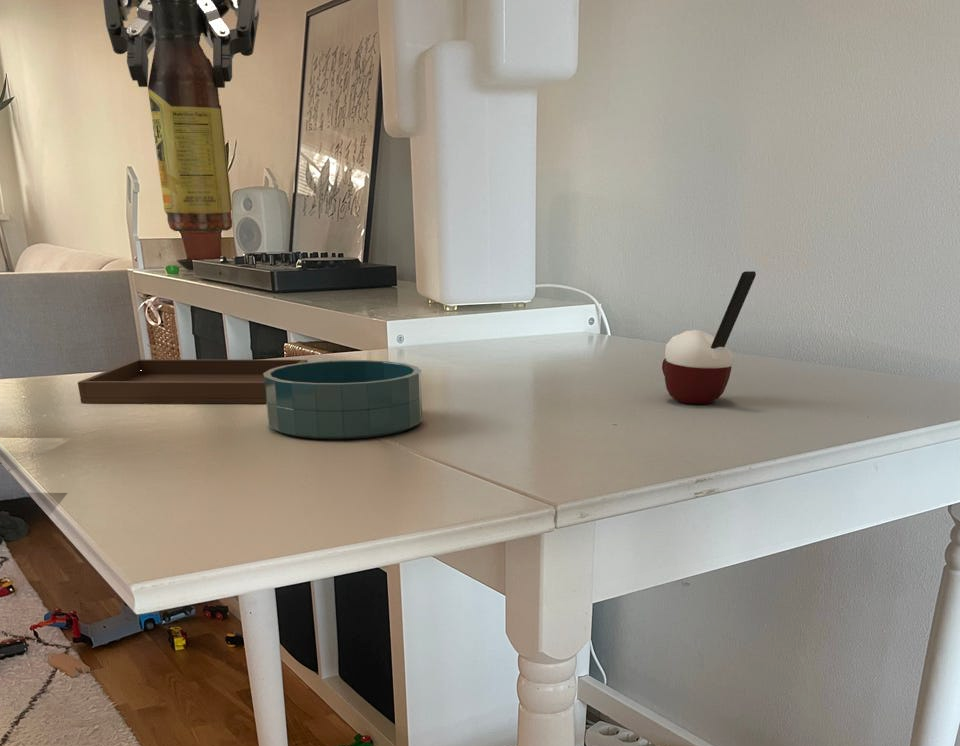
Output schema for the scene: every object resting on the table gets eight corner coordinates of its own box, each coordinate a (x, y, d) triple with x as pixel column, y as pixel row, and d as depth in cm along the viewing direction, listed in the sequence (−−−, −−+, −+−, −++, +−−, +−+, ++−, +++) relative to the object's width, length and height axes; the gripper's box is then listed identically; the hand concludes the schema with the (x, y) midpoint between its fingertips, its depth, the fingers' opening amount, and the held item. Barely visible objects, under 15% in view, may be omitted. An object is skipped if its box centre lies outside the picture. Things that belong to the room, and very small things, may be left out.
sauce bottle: (179, 230, 96) (150, -9, 87) (242, 230, 95) (218, -10, 87) (156, 232, 90) (122, -24, 81) (223, 232, 89) (196, -25, 81)
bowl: (251, 440, 79) (245, 384, 77) (288, 409, 91) (283, 359, 89) (413, 441, 78) (411, 384, 76) (428, 409, 90) (427, 360, 88)
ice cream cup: (648, 394, 97) (657, 266, 92) (708, 392, 98) (719, 265, 93) (683, 413, 88) (694, 272, 83) (748, 410, 89) (763, 271, 84)
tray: (80, 403, 94) (77, 382, 93) (138, 377, 108) (135, 359, 107) (276, 403, 93) (274, 382, 93) (309, 378, 107) (307, 359, 106)
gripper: (92, -96, 87) (83, 38, 81) (255, -91, 89) (257, 40, 83) (115, -14, 94) (107, 115, 88) (265, -11, 96) (267, 115, 90)
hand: (180, 78), depth 86 cm, fingers closed on sauce bottle, 6 cm apart
